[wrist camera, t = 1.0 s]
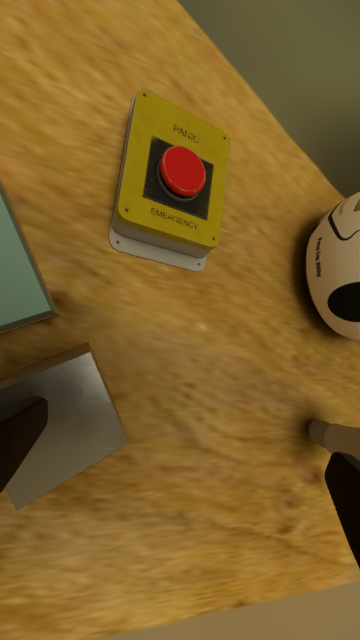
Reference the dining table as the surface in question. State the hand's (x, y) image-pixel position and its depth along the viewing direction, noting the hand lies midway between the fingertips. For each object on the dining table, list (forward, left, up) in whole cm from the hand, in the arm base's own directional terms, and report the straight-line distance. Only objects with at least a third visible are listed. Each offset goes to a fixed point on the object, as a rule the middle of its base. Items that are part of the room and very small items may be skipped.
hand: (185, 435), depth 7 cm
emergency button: (+10, +14, -13) cm, 22 cm away
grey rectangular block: (-4, +1, -13) cm, 13 cm away
